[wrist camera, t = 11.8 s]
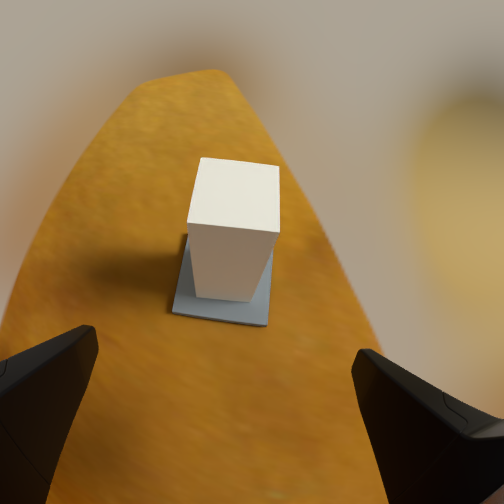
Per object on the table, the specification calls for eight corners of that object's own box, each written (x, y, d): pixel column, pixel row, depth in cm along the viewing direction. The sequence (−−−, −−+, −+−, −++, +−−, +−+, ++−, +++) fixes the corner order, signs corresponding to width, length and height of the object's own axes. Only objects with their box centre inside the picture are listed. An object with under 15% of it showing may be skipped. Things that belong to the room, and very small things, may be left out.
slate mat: (265, 326, 21) (267, 325, 21) (173, 313, 21) (172, 311, 20) (272, 245, 24) (273, 242, 24) (190, 233, 24) (189, 229, 23)
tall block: (250, 302, 21) (279, 232, 12) (196, 297, 21) (186, 222, 12) (252, 254, 23) (278, 166, 14) (202, 249, 23) (201, 157, 14)
